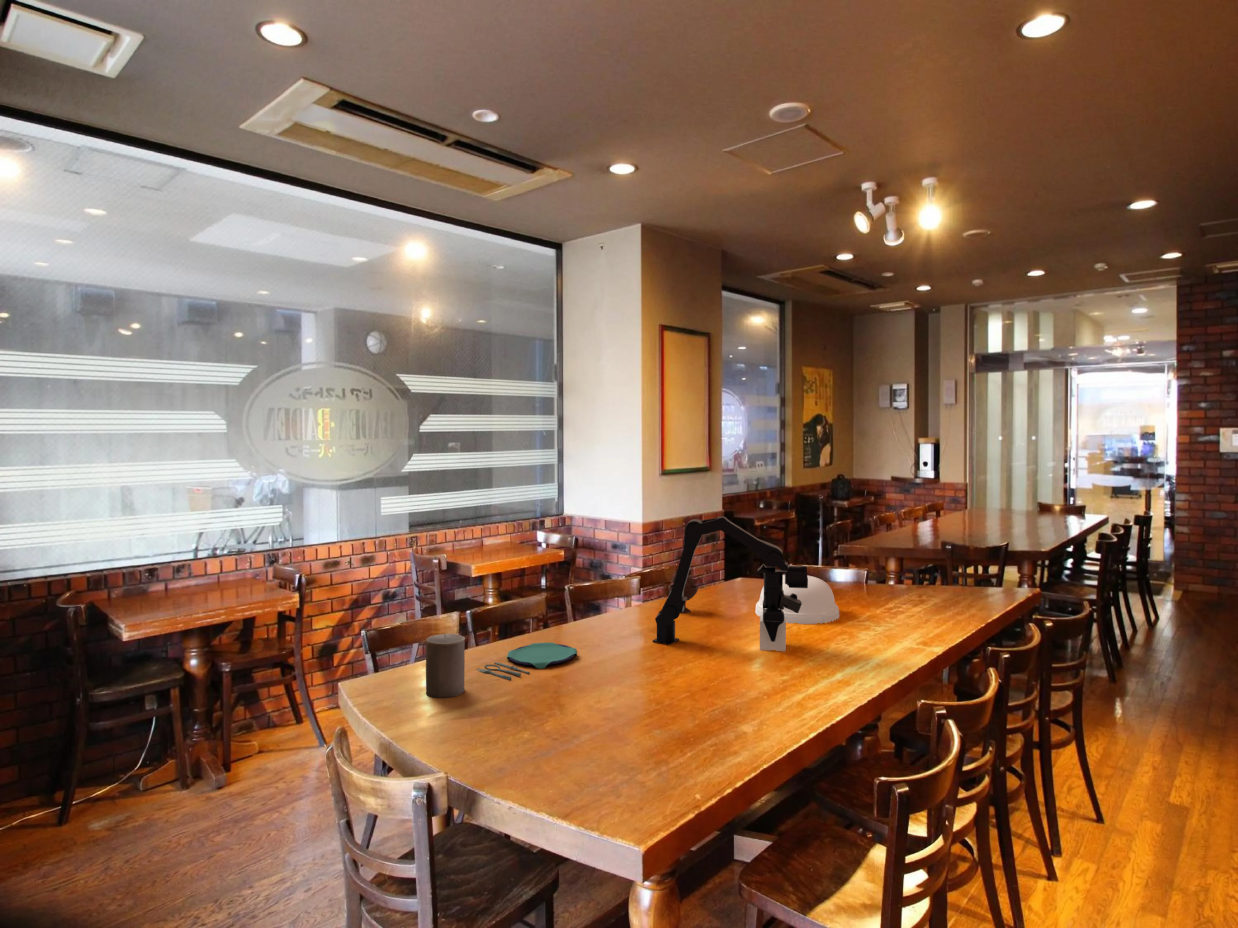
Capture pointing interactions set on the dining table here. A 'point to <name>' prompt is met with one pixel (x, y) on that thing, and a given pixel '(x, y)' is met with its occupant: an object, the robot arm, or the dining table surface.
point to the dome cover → (808, 603)
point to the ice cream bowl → (686, 590)
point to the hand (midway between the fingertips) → (772, 637)
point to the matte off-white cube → (779, 641)
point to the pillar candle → (445, 665)
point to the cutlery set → (534, 657)
